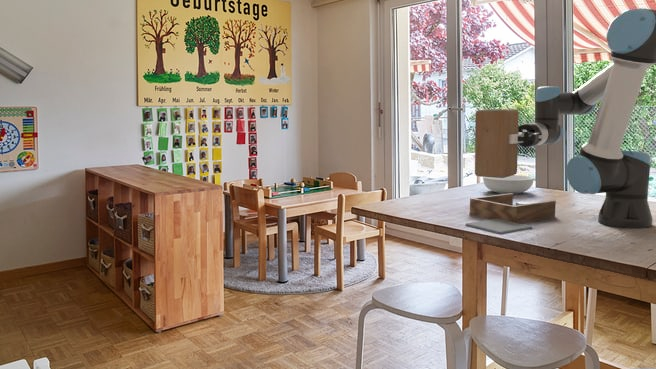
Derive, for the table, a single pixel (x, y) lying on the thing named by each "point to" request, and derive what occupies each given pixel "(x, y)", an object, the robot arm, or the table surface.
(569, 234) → the table surface
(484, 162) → the wooden block
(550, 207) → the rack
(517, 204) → the offcut slab upper
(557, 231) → the table surface
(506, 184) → the serving bowl
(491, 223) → the mat
